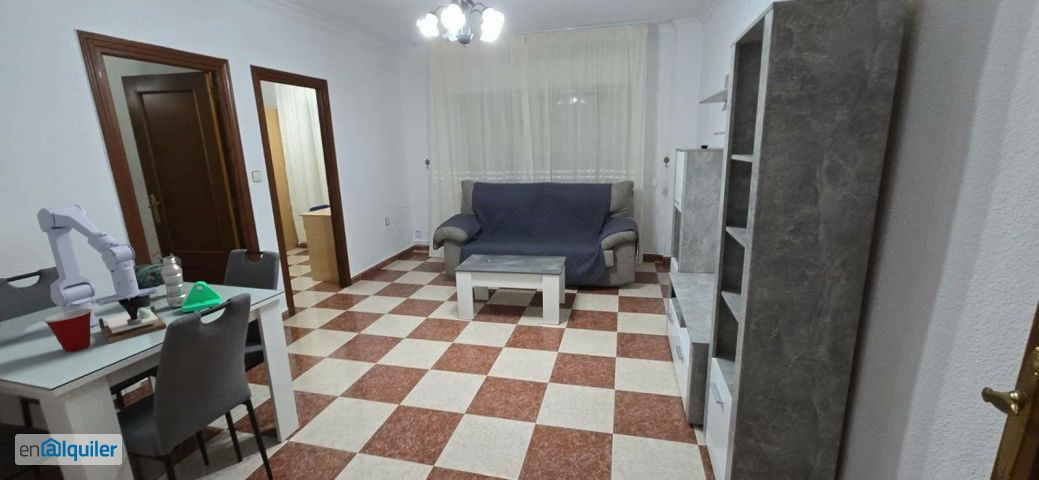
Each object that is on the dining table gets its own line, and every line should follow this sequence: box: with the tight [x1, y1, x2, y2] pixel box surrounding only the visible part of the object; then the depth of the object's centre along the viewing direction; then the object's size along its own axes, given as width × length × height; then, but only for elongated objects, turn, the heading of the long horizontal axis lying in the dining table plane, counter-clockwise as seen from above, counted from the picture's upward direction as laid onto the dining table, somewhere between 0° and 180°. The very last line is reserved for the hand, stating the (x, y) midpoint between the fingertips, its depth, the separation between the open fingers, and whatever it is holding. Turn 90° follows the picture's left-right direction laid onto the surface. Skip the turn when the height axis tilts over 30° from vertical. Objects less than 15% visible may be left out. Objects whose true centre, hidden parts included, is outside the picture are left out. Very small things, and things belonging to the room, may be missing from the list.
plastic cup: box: [42, 307, 93, 353], centre depth 133 cm, size 11×11×12 cm
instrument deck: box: [104, 307, 159, 333], centre depth 147 cm, size 15×12×3 cm
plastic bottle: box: [161, 256, 188, 308], centre depth 166 cm, size 6×7×20 cm
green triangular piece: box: [181, 281, 222, 313], centre depth 165 cm, size 12×8×10 cm, turn 120°
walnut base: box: [97, 305, 167, 344], centre depth 147 cm, size 16×15×5 cm
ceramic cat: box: [134, 251, 183, 309], centre depth 174 cm, size 20×6×20 cm, turn 169°
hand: (134, 319), depth 143 cm, fingers closed, pressing on instrument deck
